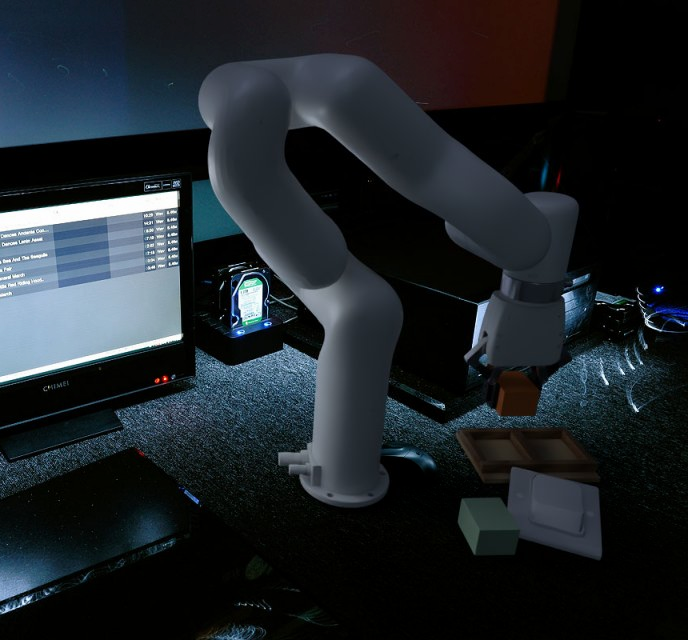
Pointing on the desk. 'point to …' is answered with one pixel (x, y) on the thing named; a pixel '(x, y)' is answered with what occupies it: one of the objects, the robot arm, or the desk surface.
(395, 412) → the desk surface
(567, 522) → the light switch
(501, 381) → the orange block
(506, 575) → the desk surface
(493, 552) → the green rectangular block
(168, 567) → the desk surface
